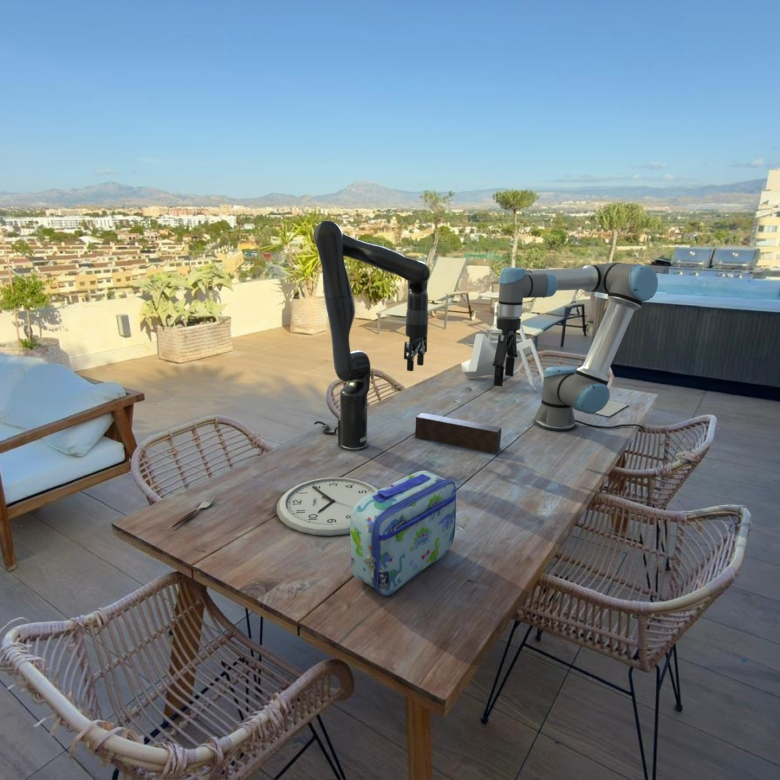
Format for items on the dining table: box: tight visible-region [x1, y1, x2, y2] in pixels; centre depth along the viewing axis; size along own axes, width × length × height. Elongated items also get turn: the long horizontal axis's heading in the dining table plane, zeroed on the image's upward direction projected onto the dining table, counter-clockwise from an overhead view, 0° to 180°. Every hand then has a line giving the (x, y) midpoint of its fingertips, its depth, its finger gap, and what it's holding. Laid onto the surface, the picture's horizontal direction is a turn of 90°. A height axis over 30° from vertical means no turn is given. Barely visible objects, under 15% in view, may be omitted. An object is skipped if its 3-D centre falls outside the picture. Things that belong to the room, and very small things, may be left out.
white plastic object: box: [460, 323, 545, 391], centre depth 258 cm, size 37×45×31 cm
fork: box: [171, 493, 217, 529], centre depth 137 cm, size 3×16×2 cm, turn 160°
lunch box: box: [349, 470, 457, 597], centre depth 114 cm, size 26×11×21 cm, turn 134°
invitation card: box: [595, 399, 629, 418], centre depth 226 cm, size 21×1×15 cm
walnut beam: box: [414, 412, 503, 455], centre depth 184 cm, size 30×5×8 cm, turn 63°
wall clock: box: [276, 476, 380, 537], centre depth 142 cm, size 30×2×30 cm
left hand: (415, 367), depth 182 cm, fingers open, 8 cm apart
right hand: (503, 380), depth 174 cm, fingers open, 13 cm apart
